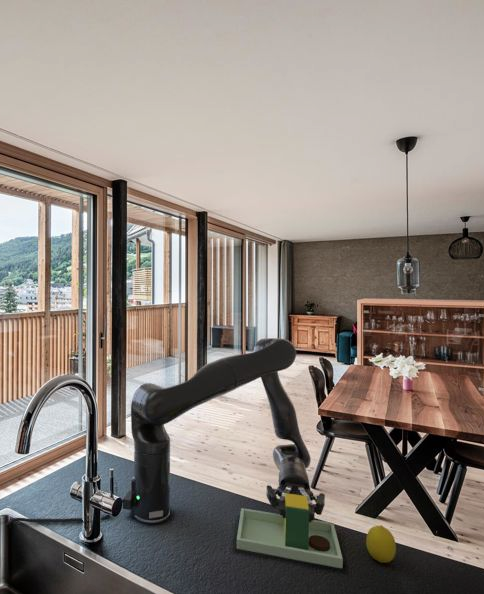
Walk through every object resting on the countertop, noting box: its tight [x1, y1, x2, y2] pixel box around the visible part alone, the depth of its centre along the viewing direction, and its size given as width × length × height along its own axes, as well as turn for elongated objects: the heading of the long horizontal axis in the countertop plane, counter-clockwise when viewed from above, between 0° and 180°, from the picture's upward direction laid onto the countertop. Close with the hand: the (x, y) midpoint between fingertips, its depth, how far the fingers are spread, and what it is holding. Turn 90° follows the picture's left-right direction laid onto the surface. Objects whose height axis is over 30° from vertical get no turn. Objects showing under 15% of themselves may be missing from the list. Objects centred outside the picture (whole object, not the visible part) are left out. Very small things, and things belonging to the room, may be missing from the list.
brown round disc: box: [309, 535, 330, 552], centre depth 93 cm, size 4×4×1 cm
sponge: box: [285, 493, 309, 550], centre depth 94 cm, size 5×7×9 cm
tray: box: [236, 507, 344, 569], centre depth 95 cm, size 22×14×3 cm, turn 73°
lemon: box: [365, 525, 397, 564], centre depth 88 cm, size 6×6×8 cm
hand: (297, 516), depth 91 cm, fingers closed on sponge, 4 cm apart
